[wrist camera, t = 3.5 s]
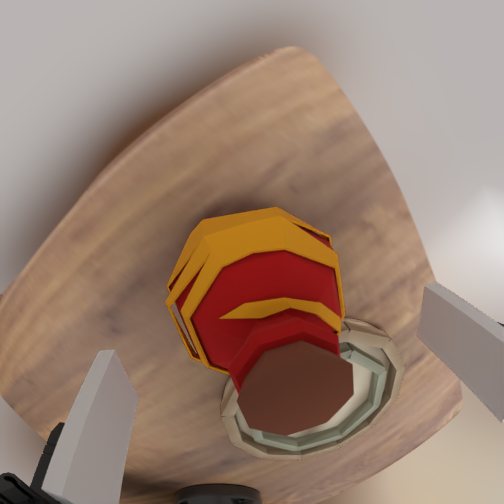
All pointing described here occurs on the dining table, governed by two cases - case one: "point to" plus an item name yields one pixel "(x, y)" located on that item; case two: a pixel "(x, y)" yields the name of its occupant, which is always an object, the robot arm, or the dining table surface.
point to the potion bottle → (266, 316)
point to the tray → (348, 417)
